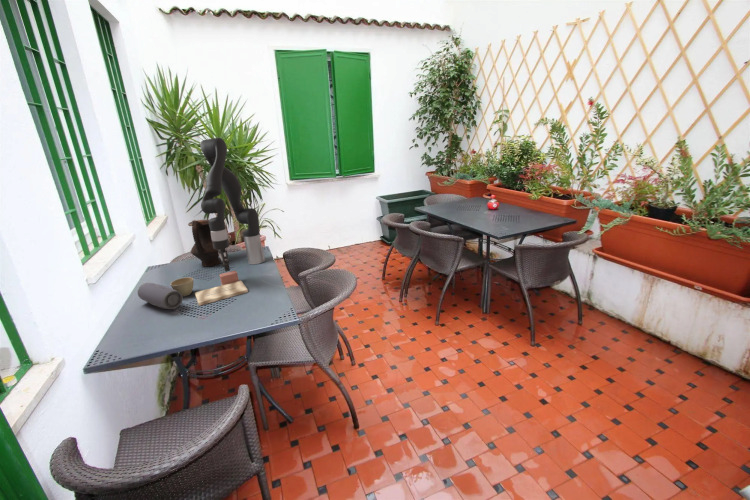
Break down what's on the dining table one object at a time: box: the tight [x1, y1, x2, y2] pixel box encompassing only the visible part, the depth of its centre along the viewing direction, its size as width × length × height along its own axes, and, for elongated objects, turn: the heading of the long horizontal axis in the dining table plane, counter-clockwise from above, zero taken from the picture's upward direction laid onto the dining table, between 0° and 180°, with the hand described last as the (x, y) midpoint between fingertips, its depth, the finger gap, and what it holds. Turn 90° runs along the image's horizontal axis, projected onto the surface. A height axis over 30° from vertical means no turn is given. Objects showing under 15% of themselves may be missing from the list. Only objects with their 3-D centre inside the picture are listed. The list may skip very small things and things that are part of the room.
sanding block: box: [219, 270, 240, 286], centre depth 177 cm, size 8×4×6 cm, turn 123°
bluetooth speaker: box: [137, 282, 184, 310], centre depth 157 cm, size 23×9×10 cm, turn 59°
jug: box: [187, 219, 222, 267], centre depth 204 cm, size 21×18×30 cm
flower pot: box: [170, 276, 194, 297], centre depth 168 cm, size 10×10×7 cm
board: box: [194, 280, 249, 306], centre depth 167 cm, size 22×14×2 cm, turn 123°
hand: (226, 268), depth 175 cm, fingers open, 8 cm apart
